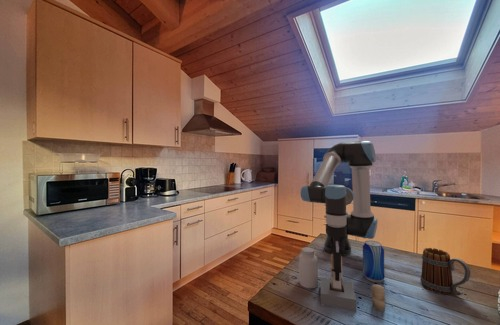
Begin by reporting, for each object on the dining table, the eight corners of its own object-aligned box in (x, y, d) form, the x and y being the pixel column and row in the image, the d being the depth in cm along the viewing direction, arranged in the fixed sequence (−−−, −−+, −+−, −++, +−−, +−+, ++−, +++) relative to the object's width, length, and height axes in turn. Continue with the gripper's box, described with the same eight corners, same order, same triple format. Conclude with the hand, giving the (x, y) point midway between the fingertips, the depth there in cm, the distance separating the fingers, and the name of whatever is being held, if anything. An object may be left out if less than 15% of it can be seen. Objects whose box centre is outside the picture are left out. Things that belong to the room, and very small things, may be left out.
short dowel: (370, 302, 79) (370, 283, 79) (383, 304, 77) (382, 285, 78) (373, 309, 75) (373, 289, 75) (386, 311, 74) (386, 291, 74)
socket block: (320, 286, 89) (320, 277, 89) (351, 291, 85) (351, 281, 85) (320, 304, 78) (320, 293, 78) (356, 311, 74) (356, 300, 74)
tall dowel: (341, 292, 83) (341, 254, 83) (342, 298, 79) (342, 258, 79) (330, 290, 84) (330, 253, 84) (331, 296, 80) (331, 257, 80)
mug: (414, 283, 91) (414, 248, 91) (429, 278, 95) (429, 245, 95) (462, 306, 76) (461, 264, 76) (477, 298, 80) (476, 259, 80)
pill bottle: (303, 290, 87) (303, 253, 87) (296, 279, 95) (296, 246, 95) (321, 288, 88) (321, 252, 88) (312, 277, 96) (312, 245, 96)
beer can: (387, 284, 90) (387, 247, 90) (366, 282, 92) (366, 245, 92) (379, 274, 98) (379, 240, 99) (360, 272, 100) (360, 239, 100)
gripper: (325, 218, 91) (325, 272, 91) (326, 230, 75) (327, 295, 75) (343, 219, 89) (344, 275, 88) (349, 232, 73) (350, 299, 72)
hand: (336, 284), depth 82 cm, fingers closed on tall dowel, 4 cm apart
